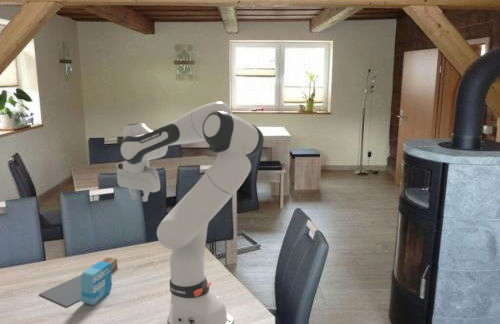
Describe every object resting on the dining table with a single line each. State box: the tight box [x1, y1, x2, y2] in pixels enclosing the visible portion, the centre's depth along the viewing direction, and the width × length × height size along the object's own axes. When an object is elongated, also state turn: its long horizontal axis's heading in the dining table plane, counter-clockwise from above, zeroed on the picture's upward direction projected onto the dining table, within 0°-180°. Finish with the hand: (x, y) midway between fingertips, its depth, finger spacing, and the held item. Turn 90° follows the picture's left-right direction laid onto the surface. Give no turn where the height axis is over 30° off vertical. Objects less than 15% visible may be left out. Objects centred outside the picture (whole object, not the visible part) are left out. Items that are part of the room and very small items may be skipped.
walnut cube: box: [101, 257, 119, 275], centre depth 176 cm, size 5×5×5 cm
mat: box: [38, 274, 113, 308], centre depth 161 cm, size 17×20×1 cm
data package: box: [80, 260, 113, 306], centre depth 154 cm, size 12×4×12 cm, turn 164°
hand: (139, 200), depth 163 cm, fingers open, 4 cm apart
